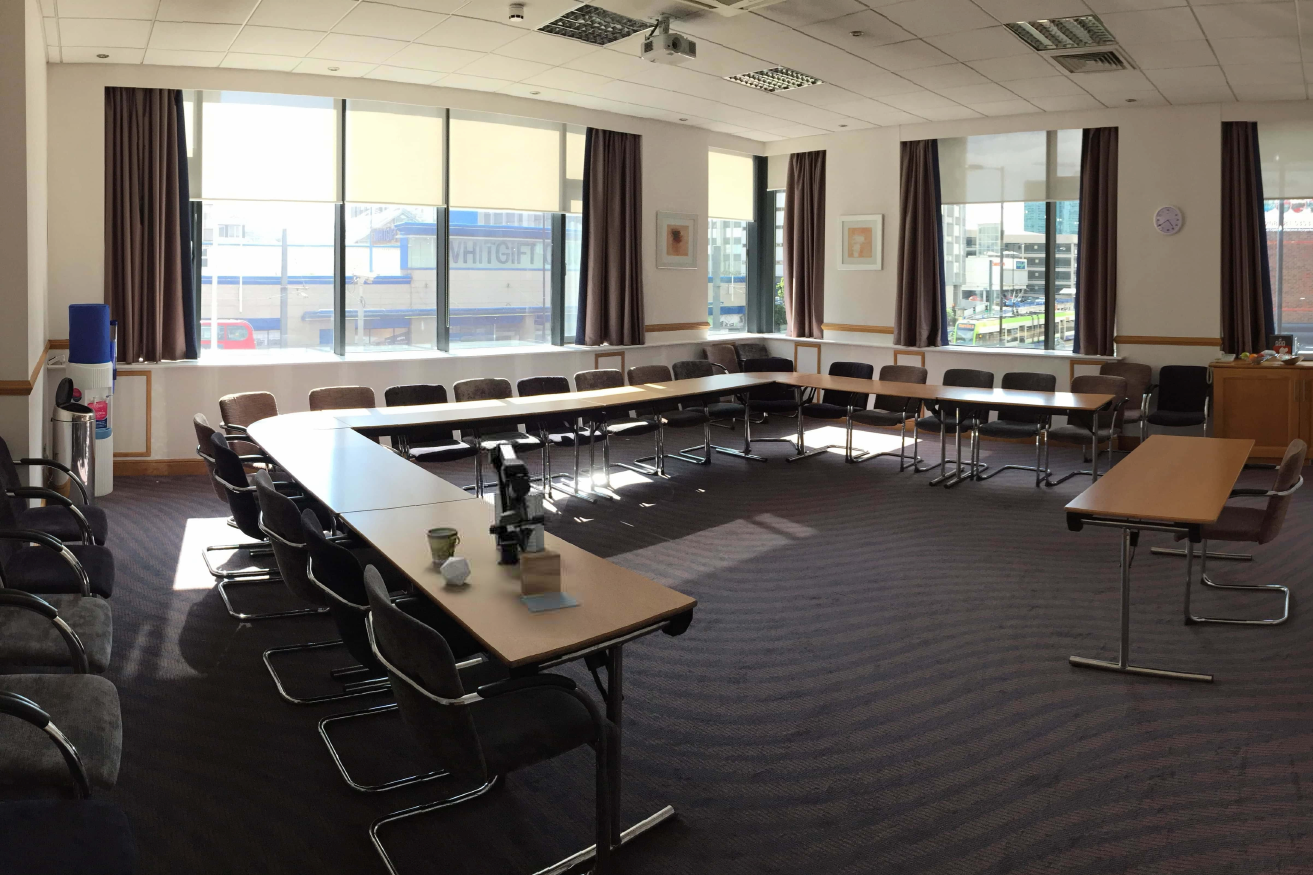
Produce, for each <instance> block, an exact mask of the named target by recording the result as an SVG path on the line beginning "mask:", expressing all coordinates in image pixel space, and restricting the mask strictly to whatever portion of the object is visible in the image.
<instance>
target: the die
mask: <svg viewBox="0 0 1313 875" xmlns="http://www.w3.org/2000/svg"><path fill="white" fill-rule="evenodd" d="M439 571H440V573H441V576H442V578H443V581H444V582H445V584H446V585H455V586H463V584H464V583H465V581H466V580H467V579H468V578H469V576H470V575H471V574H472V571H471V569H470V566H469V564H468V561H467V560H466V558H465V557H464V558H463V557H455V556H454V557H449V559H448V560H447V561H446V562H445V563H443V564H442V566H441V567H440V568H439Z"/></svg>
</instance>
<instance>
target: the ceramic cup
mask: <svg viewBox="0 0 1313 875" xmlns="http://www.w3.org/2000/svg"><path fill="white" fill-rule="evenodd" d="M458 534H459V530H458V529H457V528H455V527H447V526H444V527H443V526H440V527H434V528H430V529H428V530H427V531H426V535H427V540H428V541H427V542H428V545H429V548H430V552H431V558H432V562H434V563H437V564H444V563H445V562H446V561H447V560H448V559H449V557H455V549H456V547H457V546H459V545H460V542H461V539H460V536H458Z"/></svg>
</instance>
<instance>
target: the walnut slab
mask: <svg viewBox="0 0 1313 875" xmlns="http://www.w3.org/2000/svg"><path fill="white" fill-rule="evenodd" d="M519 558H520V562H519V563H520V595H521V596H522V598H526V597H533V596H540V595H547V594H554V593H561V592H562V578H561V577H562V576H561V575H562V574H561V573H562V572H561V571H562V570H561V566H562V565H561V553H559V551H557V550H550V551H544V552H543V551H542V552H541V551H540V552H536V553H535V552H533V553H527V554H525V553H523V554H520V556H519Z"/></svg>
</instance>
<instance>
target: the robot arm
mask: <svg viewBox="0 0 1313 875" xmlns="http://www.w3.org/2000/svg"><path fill="white" fill-rule="evenodd" d="M487 456H488V457H487V459H488V460H487V461H488V464H489V465H490V470H491V472H492V473H493V474H494V475H495V476H496V480H497V489H498V490H497V492H498V491H499V500H500V508H501V516H500V517H501V519H500V521H499V523H498V524H495V523H494V524H491V525H490V526H489V529H488V530H489V535H495V536H494V538H495V546H496V545H497V546H501V549H500V559H499V561H497V564H498V565H517V566H518V564H519V563H520V557H519V550H518V546H519V548H520V550H521V551H520V552H521V553H522V554H525V553H527V551H526V550H527V546H528V543H529V539H530V537H531V534H532V532H533V531H534V530H535V528H534V525H536V524H541V525H542V526H544V527H545V526H548V525H552V517H551V516H550V515H549V514H544V513H543V514H541V515H537V516H532V519H531V518H529V516H528V509H527V508H529V505H527V501H526V496H527V494H528V493H529V492H530V490H531V488H532V487H531V483H530V480H531V474H530V470H529V468H528V467H527V465H525V462H524V461H523V460H521V459H518V458H517V455H516V451H515V447H514V445H513V443H512V442H509V441H508V442H498V443H496V445H495V446H493V447H492V448H490V449H489V451H488V455H487ZM499 540H501V541H499Z"/></svg>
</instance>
